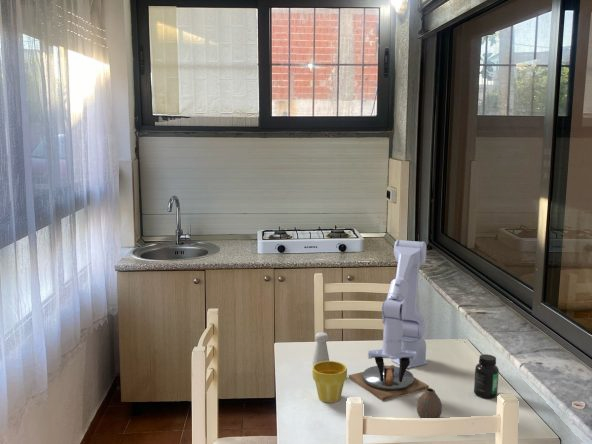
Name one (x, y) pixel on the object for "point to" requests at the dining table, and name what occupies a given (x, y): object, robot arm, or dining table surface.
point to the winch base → (388, 394)
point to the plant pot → (329, 380)
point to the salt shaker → (321, 348)
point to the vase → (429, 404)
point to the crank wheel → (387, 378)
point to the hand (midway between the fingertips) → (391, 380)
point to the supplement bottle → (486, 377)
